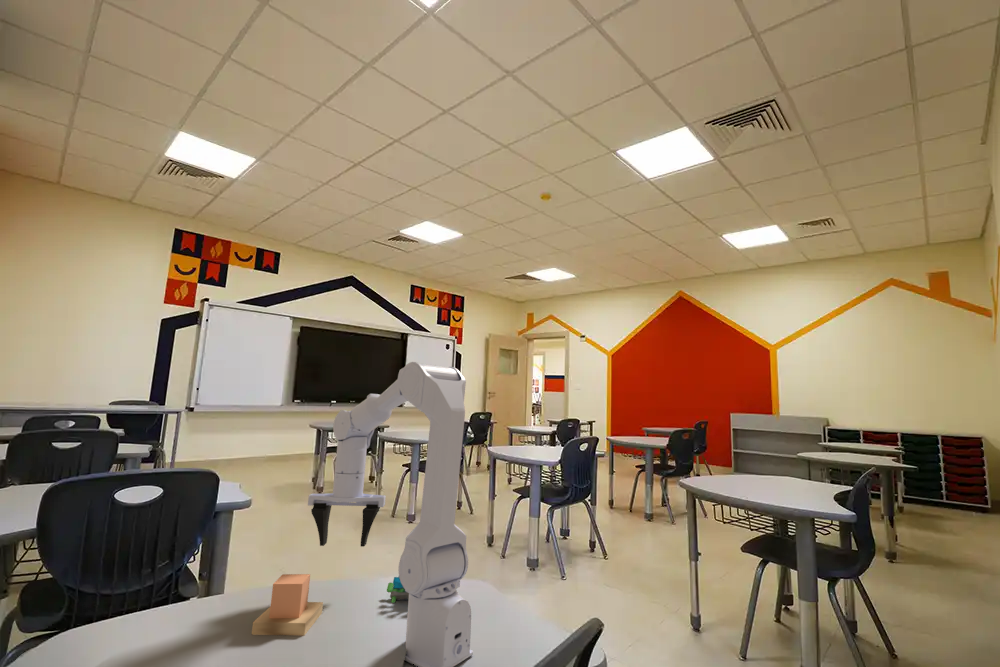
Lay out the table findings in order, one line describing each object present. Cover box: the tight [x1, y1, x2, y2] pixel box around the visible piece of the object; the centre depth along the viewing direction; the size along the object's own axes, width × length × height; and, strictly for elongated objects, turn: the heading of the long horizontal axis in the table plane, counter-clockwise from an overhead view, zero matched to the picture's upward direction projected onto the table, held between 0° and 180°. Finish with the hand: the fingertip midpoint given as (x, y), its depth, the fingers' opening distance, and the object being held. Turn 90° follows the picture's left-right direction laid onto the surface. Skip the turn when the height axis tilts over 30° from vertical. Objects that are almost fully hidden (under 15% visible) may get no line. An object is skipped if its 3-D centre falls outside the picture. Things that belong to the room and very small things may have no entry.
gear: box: [386, 576, 409, 603], centre depth 84 cm, size 11×6×10 cm
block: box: [269, 573, 311, 618], centre depth 75 cm, size 4×4×5 cm
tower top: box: [251, 601, 324, 637], centre depth 74 cm, size 8×8×2 cm
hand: (343, 544), depth 89 cm, fingers open, 7 cm apart
